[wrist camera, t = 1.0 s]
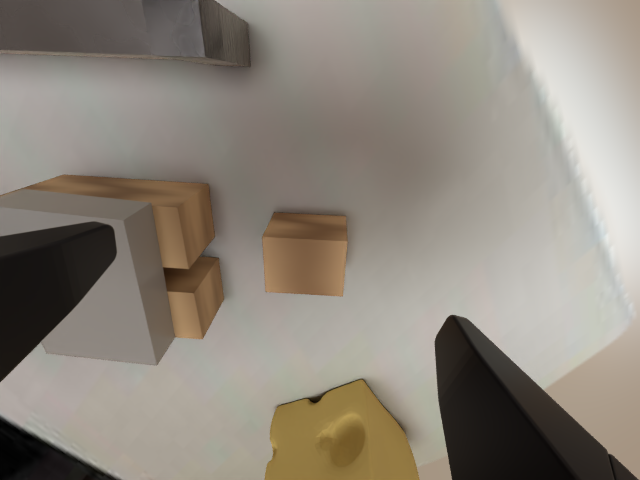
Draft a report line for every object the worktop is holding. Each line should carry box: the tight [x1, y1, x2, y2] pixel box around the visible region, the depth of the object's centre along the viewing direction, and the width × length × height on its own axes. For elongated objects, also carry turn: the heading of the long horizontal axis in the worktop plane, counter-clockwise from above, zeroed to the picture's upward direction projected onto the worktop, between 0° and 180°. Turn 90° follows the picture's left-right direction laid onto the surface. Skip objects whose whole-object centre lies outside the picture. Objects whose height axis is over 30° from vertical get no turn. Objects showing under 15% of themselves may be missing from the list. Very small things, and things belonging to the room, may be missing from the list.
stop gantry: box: [0, 0, 251, 67], centre depth 14 cm, size 17×2×6 cm, turn 88°
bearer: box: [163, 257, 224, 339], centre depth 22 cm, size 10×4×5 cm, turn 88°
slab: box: [0, 189, 175, 366], centre depth 18 cm, size 7×10×2 cm
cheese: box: [265, 380, 419, 480], centre depth 27 cm, size 10×11×10 cm
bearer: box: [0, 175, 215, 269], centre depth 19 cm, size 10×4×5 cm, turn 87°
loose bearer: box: [262, 212, 347, 296], centre depth 20 cm, size 5×4×4 cm
